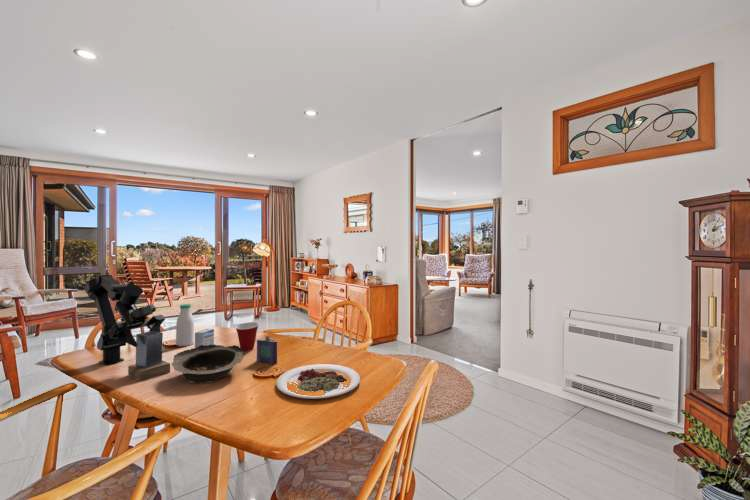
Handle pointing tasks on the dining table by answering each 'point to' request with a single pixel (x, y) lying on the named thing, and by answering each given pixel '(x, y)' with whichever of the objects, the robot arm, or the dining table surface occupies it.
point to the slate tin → (149, 349)
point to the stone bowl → (207, 362)
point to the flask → (267, 350)
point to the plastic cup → (247, 335)
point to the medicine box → (204, 337)
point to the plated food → (318, 380)
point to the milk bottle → (185, 326)
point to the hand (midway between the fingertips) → (148, 342)
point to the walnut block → (148, 371)
